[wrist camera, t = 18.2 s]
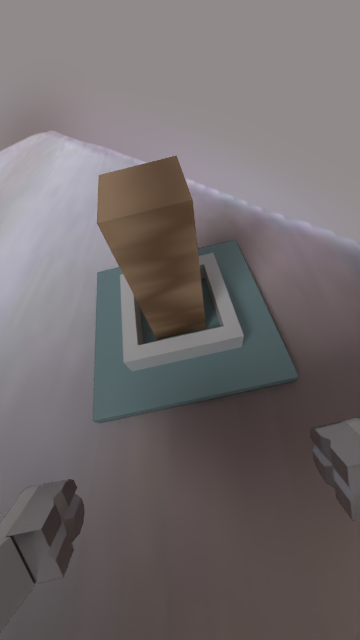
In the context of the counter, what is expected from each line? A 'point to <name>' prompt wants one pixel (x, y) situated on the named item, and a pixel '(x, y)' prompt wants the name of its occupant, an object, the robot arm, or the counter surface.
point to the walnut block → (155, 243)
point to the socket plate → (186, 343)
